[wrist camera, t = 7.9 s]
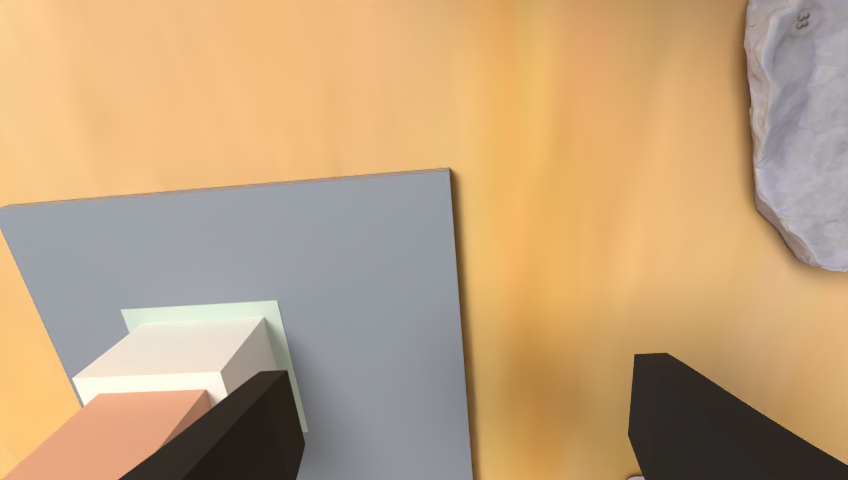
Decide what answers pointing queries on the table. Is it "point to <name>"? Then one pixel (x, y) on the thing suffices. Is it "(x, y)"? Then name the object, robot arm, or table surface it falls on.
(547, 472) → the table surface
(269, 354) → the cream base block
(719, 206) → the table surface
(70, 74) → the table surface
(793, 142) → the stone block
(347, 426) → the board
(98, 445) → the orange cube
